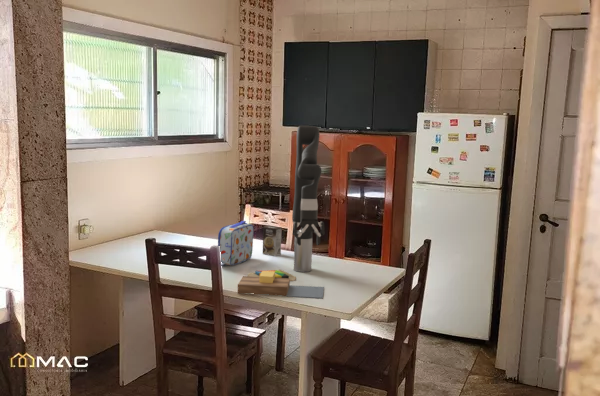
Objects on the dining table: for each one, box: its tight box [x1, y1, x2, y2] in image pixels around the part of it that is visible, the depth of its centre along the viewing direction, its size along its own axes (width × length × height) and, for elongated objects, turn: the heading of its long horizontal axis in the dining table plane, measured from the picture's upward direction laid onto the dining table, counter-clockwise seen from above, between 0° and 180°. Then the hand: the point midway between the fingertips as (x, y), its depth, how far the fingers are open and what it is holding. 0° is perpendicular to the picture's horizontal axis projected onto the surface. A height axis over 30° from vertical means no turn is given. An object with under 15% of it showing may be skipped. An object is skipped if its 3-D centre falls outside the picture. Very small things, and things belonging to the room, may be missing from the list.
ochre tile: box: [259, 270, 275, 283], centre depth 254 cm, size 9×6×3 cm, turn 176°
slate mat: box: [285, 284, 325, 299], centre depth 251 cm, size 16×16×1 cm
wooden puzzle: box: [246, 269, 297, 282], centre depth 272 cm, size 17×19×4 cm
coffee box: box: [262, 225, 283, 257], centre depth 320 cm, size 9×6×16 cm
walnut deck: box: [237, 275, 291, 297], centre depth 252 cm, size 14×22×4 cm, turn 86°
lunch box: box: [217, 220, 255, 266], centre depth 300 cm, size 28×10×22 cm, turn 158°
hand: (308, 245), depth 248 cm, fingers open, 8 cm apart
